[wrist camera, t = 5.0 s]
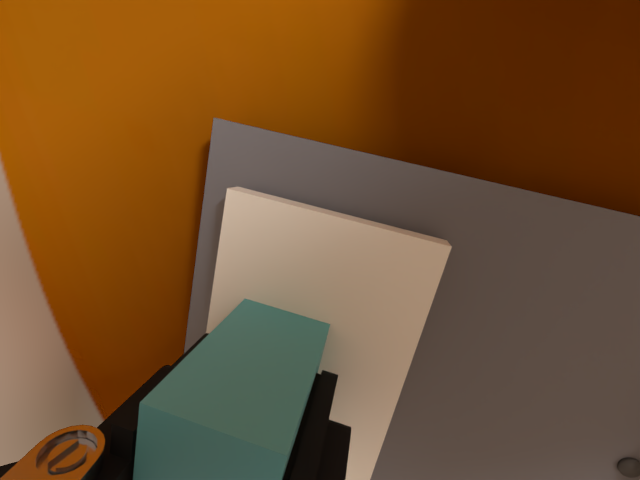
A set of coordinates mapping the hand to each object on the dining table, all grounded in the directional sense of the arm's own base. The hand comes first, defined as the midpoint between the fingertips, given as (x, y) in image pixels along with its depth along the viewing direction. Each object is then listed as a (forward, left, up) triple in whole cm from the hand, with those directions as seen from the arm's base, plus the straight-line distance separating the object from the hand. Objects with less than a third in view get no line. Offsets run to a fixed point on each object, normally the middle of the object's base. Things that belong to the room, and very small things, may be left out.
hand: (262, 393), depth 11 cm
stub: (-1, 0, -2) cm, 2 cm away
